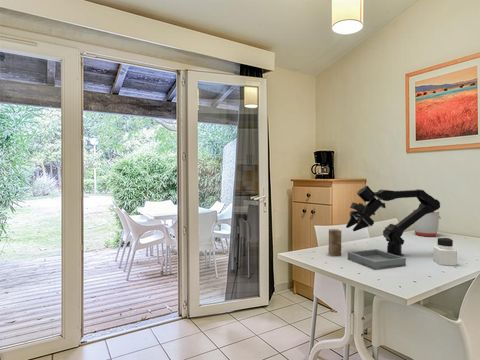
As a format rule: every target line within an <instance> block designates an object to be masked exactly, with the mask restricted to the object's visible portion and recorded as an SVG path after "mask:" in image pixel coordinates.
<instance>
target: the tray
mask: <svg viewBox="0 0 480 360" xmlns="http://www.w3.org/2000/svg"><path fill="white" fill-rule="evenodd" d="M406 259H407V258H406V257H403V256H397V255H394V254H390V253H387V251H384V250H381V249H377V248H374V249H365V250H363V249H362V250H354V251H353V250H352V251H347V260H348V261H352V262H354V263H356V264H359V265H361V266H363V267H366V268H369V269H372V270H373V271H375V270H383V269H384V270H385V269H392V268H397V267H399V268H400V267H405V266H406V265H407V264H406V262H407V260H406Z"/></svg>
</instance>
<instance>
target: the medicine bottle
mask: <svg viewBox="0 0 480 360" xmlns="http://www.w3.org/2000/svg"><path fill="white" fill-rule="evenodd" d="M453 244H454V240H453V239H452V238H449V237H438V238H437V246H433V262H435V263H436V264H438V265H440V266H452V267H453V266H455V267H456V266H457V263H458V262H457V260H458V259H457V255H458V254H457V253H458V252H457V250H456V249H455V248H454V247H453V246H454V245H453Z"/></svg>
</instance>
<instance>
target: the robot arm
mask: <svg viewBox="0 0 480 360" xmlns="http://www.w3.org/2000/svg"><path fill="white" fill-rule="evenodd" d="M356 195H357V196H358V197H360V199H361V200H362V201H364V202H365V203H366V202H367V203H366V204H365V205H364V204H363V203H362V202H358V203H356V202H351V205H350V206H349V208H350V209H353V210H350V212H349V217H350V218H349V220H348V222H347V224H346V226H345V228H346V229H350V227H353V226H354V227H353V228H352V231H353V232H356V231H359V230H361V229H366V228H368V227H369V228H370V227H372V226H373V225H374V224H375V221H374V220H373V218H371V217H372V216H375V215H376V212H377V211H378V210H379V209H380V208H381V209H387V208H386V203H385V202H389V201H394V200H396V199H397V200H398V199H401V198H402V199H408V198H409V199H411V198H416V199H417V200H418V201H419V205H418V207H417V208H415V209H414V210H415V211H414V212H413V211H412V212H410V214H408V215H407V216H405V217H404V218H403V219H402V220H401V221H399V222H398V223H397V224H394V223H389V225H387V226H386V227H384V229H383V231H382V235H383V238H385V240H386V242H387V245H386V246H387V249H386V250H387V251H386V252H387V253H390V254H394V255H397V256H400V257H402V256H405V254H404V253H402V245H404V244H405V239H403V237H402V236H403V234H404V232H405V231H406V230H407V229H408V228H409V227H411V226H413V224H414V223H415V222H416V221H418V220H419V219H420V218H422V217H423V216H424V215H426V214H428V213H432V212H436V211H437V210H439V209H440V208H441V202H440V201H439V200H438V199H436V198H434V197H433V196H432V195H430V194H429V193H427V192H426V191H425V190H424V189H409V190H407V189H406V190H389V189H379V190H378V191H373V190H372V189H371V187H370V186H368V185H365V186H363V187H362V188H361V189H359V190H358V191H357V192H356Z"/></svg>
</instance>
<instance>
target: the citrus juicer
mask: <svg viewBox="0 0 480 360" xmlns="http://www.w3.org/2000/svg"><path fill="white" fill-rule="evenodd" d="M415 210H416V209H412V212H414V211H415ZM440 219H442V217H441V216H440V211H437V212H436V211H434V212H432V213H428V214H426V215H424V216H423V217H422V218H420V219H419V220H418V221H416V222H415V223H414V224H412V226H413V230H414V232H415V233H414V234H415V235H417V236H421V237H436V235H438V230H439V225H440V224H439V223H440V222H439V220H440Z"/></svg>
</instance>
